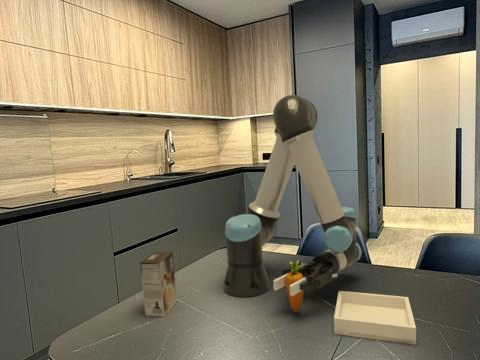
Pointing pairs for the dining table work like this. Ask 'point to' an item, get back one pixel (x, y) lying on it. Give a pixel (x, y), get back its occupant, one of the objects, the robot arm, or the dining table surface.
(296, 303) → the carrot
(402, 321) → the tray
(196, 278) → the dining table surface
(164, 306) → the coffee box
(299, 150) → the robot arm
